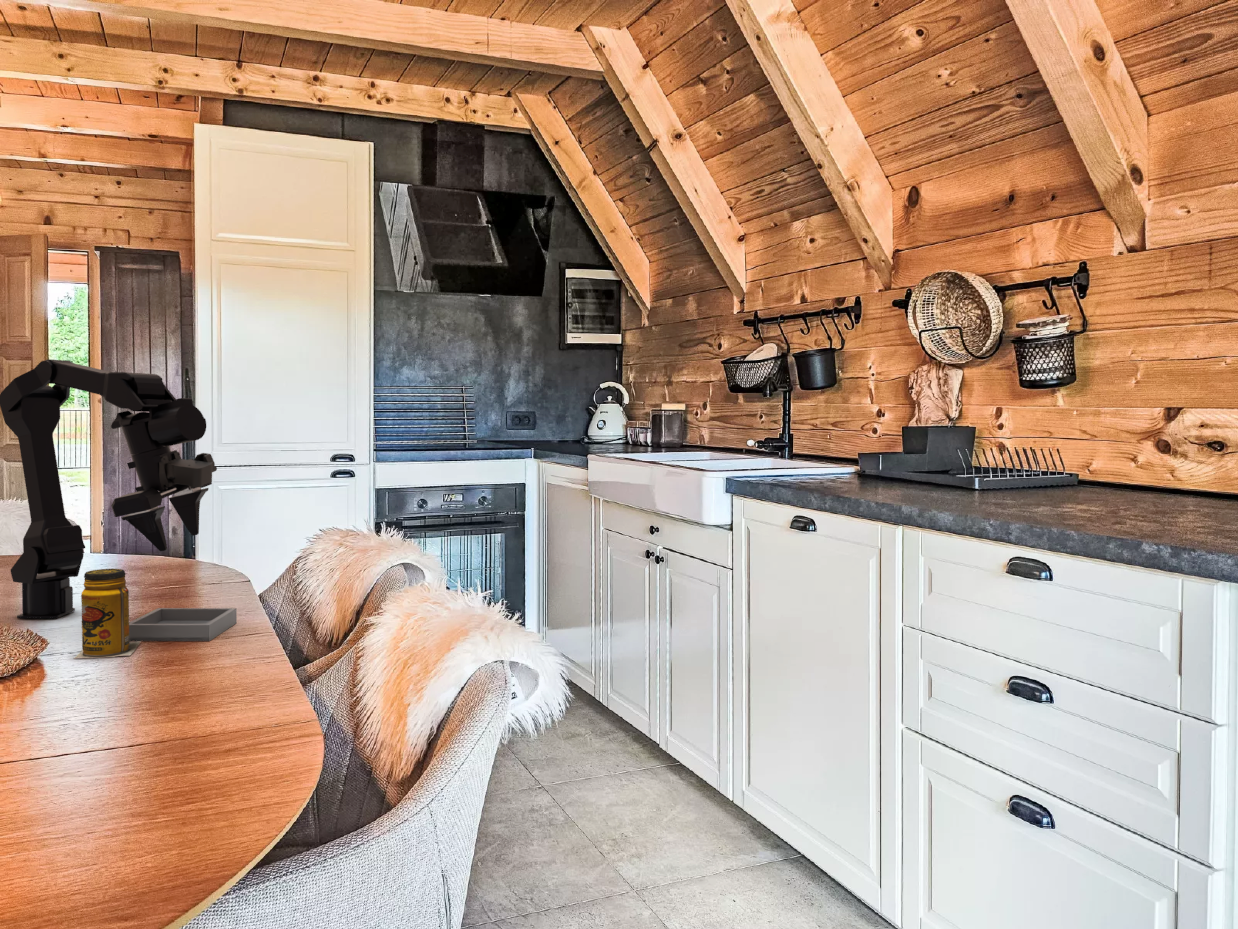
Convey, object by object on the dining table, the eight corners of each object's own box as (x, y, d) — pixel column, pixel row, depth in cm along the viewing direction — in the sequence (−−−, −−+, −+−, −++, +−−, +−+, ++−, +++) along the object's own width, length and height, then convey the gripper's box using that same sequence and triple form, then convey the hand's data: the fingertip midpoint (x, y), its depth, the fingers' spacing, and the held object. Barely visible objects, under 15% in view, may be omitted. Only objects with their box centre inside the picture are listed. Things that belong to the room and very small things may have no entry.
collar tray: (124, 641, 142) (123, 625, 142) (158, 622, 154) (158, 608, 154) (209, 641, 143) (209, 625, 143) (236, 623, 155) (236, 608, 155)
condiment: (72, 660, 131) (71, 575, 130) (87, 645, 139) (86, 566, 139) (130, 657, 133) (129, 573, 133) (141, 643, 141) (141, 564, 141)
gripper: (161, 450, 139) (193, 549, 141) (225, 430, 157) (253, 518, 159) (95, 465, 140) (127, 563, 143) (166, 444, 158) (194, 531, 161)
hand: (180, 542), depth 151 cm, fingers open, 9 cm apart
